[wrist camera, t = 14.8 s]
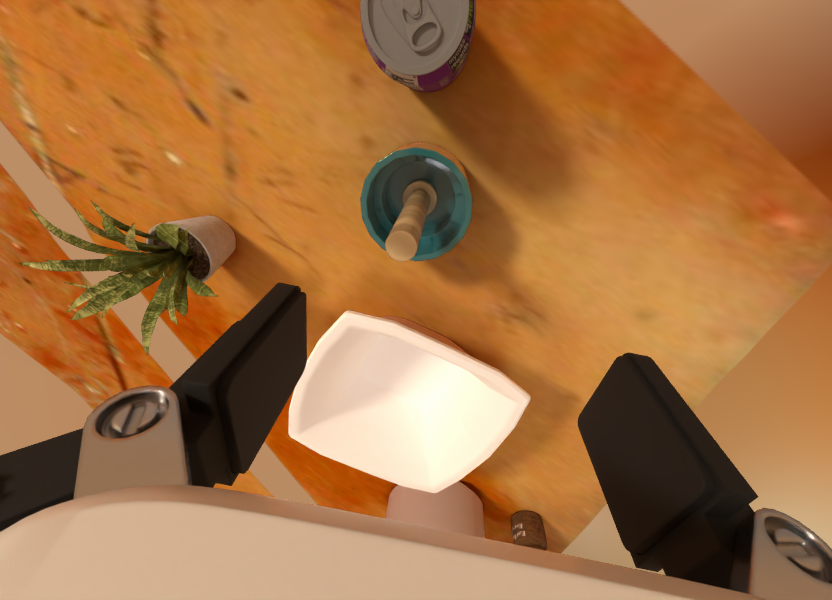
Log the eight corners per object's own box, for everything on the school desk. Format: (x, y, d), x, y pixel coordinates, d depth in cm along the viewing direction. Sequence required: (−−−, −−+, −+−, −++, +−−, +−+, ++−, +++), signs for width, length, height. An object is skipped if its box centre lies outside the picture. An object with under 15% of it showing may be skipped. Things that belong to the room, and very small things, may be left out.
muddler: (406, 176, 34) (377, 215, 21) (440, 182, 34) (432, 225, 21) (401, 210, 36) (372, 265, 23) (434, 216, 36) (422, 275, 23)
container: (390, 517, 69) (379, 587, 59) (388, 464, 60) (375, 536, 50) (477, 528, 67) (481, 601, 57) (488, 475, 58) (495, 552, 48)
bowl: (359, 252, 39) (331, 295, 30) (532, 337, 43) (553, 399, 34) (304, 378, 51) (272, 437, 42) (444, 437, 55) (442, 503, 45)
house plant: (172, 134, 35) (-20, 151, 21) (289, 212, 38) (190, 273, 24) (146, 237, 41) (-13, 303, 27) (247, 297, 44) (151, 384, 30)
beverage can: (482, 65, 29) (497, 41, 19) (412, 108, 31) (391, 108, 21) (448, -31, 26) (444, -121, 16) (373, 24, 28) (327, -24, 18)
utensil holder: (546, 512, 62) (564, 592, 52) (535, 529, 66) (550, 607, 55) (515, 507, 62) (527, 586, 52) (506, 523, 66) (515, 601, 55)
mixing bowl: (378, 133, 33) (364, 137, 28) (480, 152, 33) (485, 160, 27) (370, 231, 38) (356, 250, 33) (458, 247, 38) (458, 269, 33)
